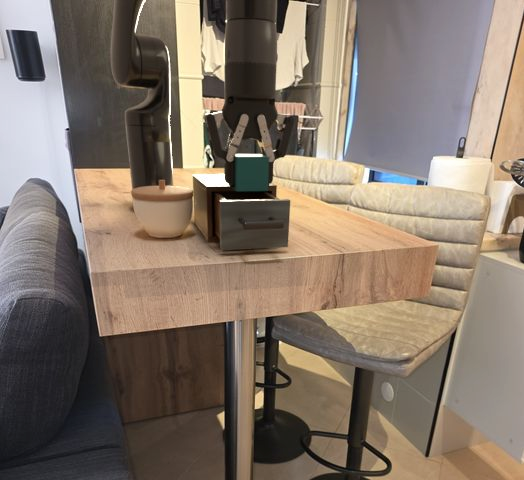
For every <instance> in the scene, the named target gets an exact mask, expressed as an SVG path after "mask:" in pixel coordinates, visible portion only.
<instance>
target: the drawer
mask: <svg viewBox="0 0 524 480" xmlns="http://www.w3.org/2000/svg"><path fill="white" fill-rule="evenodd" d="M290 215H291V200H290V199H289V198H279V197H278V196H276V197H275V196H273V195H272V194H270V193H268V192H266V191H243V192H237V191H226V192H212V227H213V231H214V233H215V234H216V235H217V236H218V238H219V239H220V241H219V249H220V250H221V251H233V250H252V249H253V250H254V249H275V248H277V249H278V248H288V247H289V233H290V218H291V217H290Z"/></svg>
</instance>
